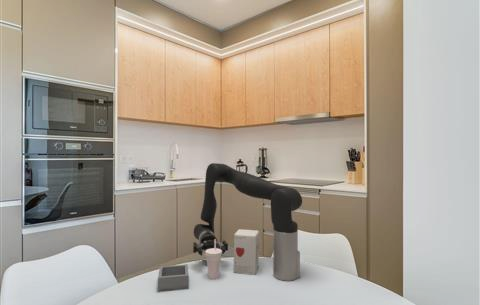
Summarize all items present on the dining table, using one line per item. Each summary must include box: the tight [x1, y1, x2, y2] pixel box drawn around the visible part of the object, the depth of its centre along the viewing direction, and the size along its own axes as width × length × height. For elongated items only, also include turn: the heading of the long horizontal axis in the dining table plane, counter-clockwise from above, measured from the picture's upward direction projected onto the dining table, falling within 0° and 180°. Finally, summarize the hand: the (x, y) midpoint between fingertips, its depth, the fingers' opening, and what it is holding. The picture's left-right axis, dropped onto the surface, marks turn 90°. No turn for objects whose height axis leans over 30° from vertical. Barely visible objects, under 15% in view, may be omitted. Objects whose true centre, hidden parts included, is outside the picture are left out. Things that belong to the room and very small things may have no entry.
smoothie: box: [204, 238, 223, 280], centre depth 98 cm, size 6×6×14 cm
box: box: [157, 263, 190, 293], centre depth 92 cm, size 10×10×4 cm
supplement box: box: [233, 228, 260, 276], centre depth 105 cm, size 9×9×15 cm
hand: (212, 252), depth 101 cm, fingers open, 8 cm apart
